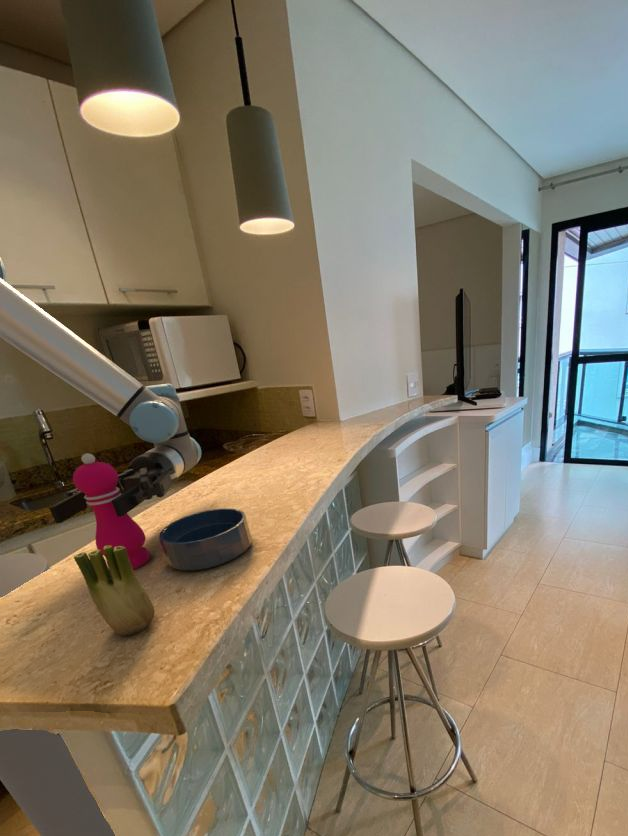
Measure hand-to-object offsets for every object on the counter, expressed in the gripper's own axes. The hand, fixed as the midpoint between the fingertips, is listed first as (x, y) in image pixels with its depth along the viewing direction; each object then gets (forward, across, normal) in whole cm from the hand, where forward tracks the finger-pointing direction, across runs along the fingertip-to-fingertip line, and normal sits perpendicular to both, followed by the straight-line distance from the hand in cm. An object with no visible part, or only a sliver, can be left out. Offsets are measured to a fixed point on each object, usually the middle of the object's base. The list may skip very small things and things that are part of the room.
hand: (85, 511), depth 63 cm
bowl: (-6, -14, -12) cm, 20 cm away
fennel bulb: (+14, -11, -12) cm, 22 cm away
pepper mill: (-5, 0, -12) cm, 13 cm away
